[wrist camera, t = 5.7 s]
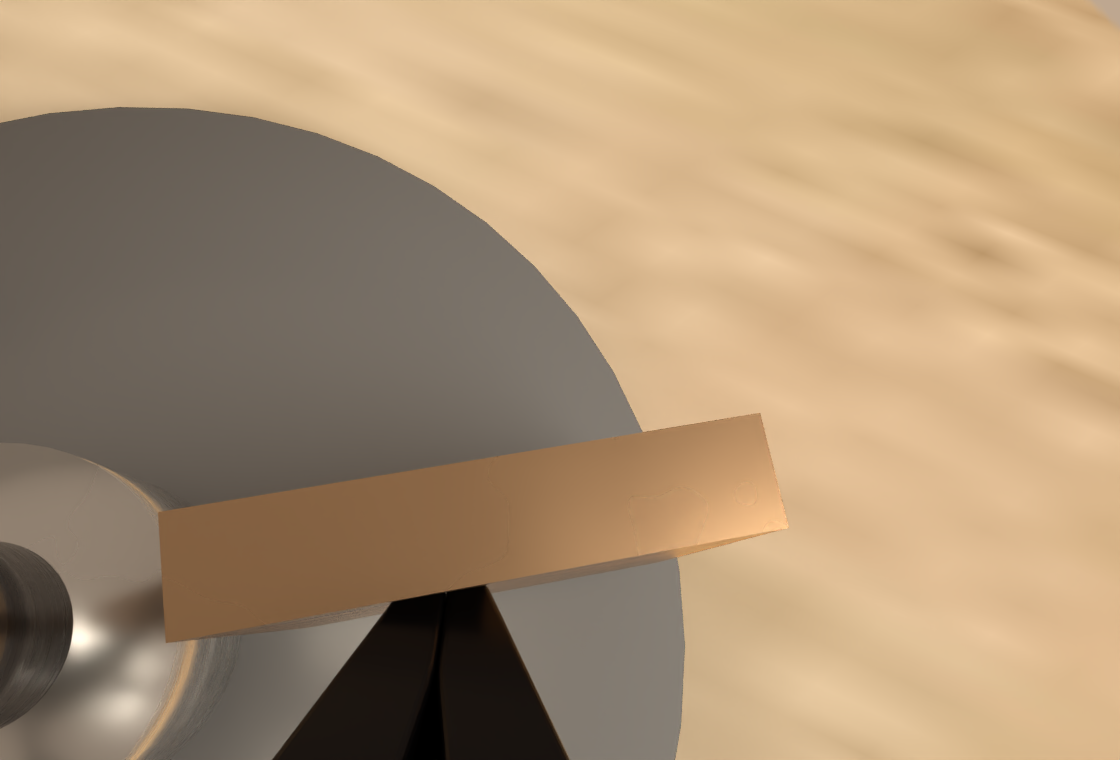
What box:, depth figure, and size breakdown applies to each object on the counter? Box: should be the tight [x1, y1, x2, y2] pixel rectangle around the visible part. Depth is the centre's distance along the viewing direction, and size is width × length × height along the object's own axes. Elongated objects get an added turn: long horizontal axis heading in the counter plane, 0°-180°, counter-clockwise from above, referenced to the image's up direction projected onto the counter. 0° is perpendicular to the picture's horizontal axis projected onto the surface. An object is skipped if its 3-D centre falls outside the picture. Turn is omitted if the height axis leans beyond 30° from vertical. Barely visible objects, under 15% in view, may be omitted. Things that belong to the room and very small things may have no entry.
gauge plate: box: [0, 107, 685, 760], centre depth 14 cm, size 20×20×1 cm
